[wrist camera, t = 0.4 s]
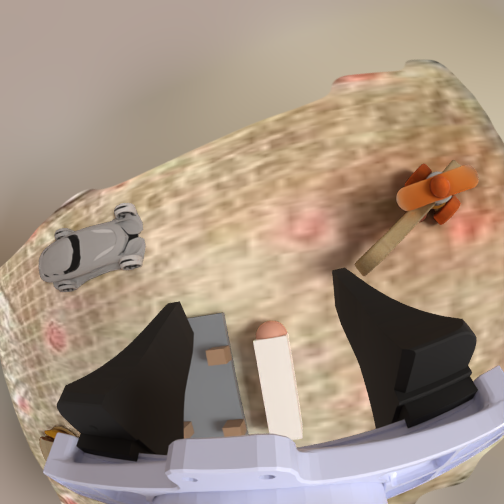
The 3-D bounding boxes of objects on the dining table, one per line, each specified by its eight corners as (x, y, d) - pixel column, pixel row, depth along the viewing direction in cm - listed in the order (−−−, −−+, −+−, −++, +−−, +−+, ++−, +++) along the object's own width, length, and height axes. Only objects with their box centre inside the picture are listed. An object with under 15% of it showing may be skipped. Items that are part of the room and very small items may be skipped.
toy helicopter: (454, 205, 36) (500, 170, 23) (370, 298, 36) (405, 296, 23) (420, 167, 38) (455, 120, 25) (331, 254, 38) (348, 229, 25)
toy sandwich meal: (100, 482, 37) (87, 491, 33) (57, 461, 39) (44, 467, 35) (88, 435, 39) (73, 442, 35) (46, 416, 42) (31, 421, 37)
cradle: (253, 451, 35) (249, 465, 31) (189, 453, 36) (179, 464, 32) (225, 312, 39) (217, 313, 35) (159, 322, 41) (145, 323, 36)
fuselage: (302, 423, 35) (302, 438, 30) (274, 427, 35) (271, 442, 31) (285, 317, 38) (283, 319, 33) (256, 322, 39) (250, 324, 34)
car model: (150, 267, 43) (134, 263, 38) (52, 297, 45) (34, 296, 41) (141, 203, 45) (126, 193, 40) (48, 244, 48) (31, 239, 43)
